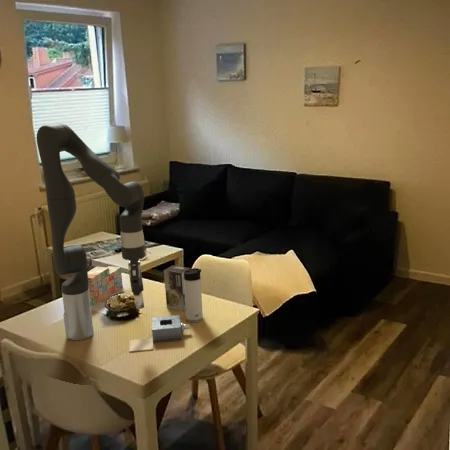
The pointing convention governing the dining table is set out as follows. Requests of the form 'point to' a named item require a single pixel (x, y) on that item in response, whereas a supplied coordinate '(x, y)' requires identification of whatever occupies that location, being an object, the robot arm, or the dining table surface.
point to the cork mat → (141, 345)
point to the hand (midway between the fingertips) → (136, 292)
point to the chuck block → (167, 328)
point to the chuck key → (139, 298)
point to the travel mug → (193, 295)
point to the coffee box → (175, 287)
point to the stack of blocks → (103, 282)
